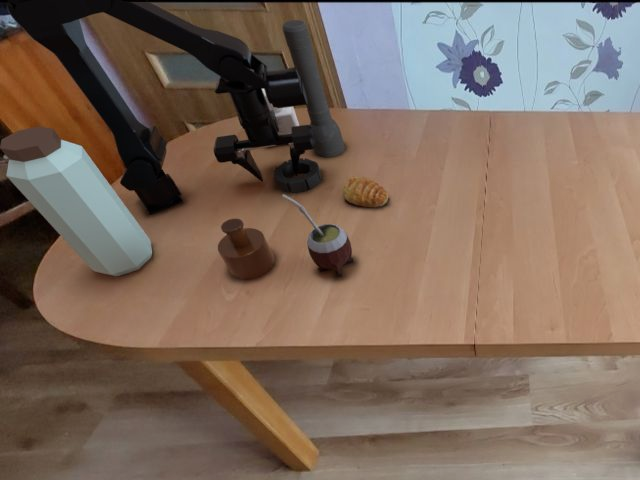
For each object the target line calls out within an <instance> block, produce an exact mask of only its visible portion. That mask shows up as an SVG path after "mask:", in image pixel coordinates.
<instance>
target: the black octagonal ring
mask: <svg viewBox="0 0 640 480" xmlns="http://www.w3.org/2000/svg"><path fill="white" fill-rule="evenodd" d="M318 163H319V162H317V161H314V160H312V159H309V158H303V157H300V158H299V162H298V174H301V173H305V174H304V175H302V176H299V177H298V176H297V177H293V178H290V177H291V176H292V175H295V173H294V169H293V165H292V161H291V159H288V160H287V161H286V160H285V161H284V162H282V163H281V164H279V165H278V166H276V167H274V169H273V180H274V182H275V185H276V188H278V190H281V191H282V192H283V191H284V192H286V193H288V194H290V193H292V194H297V193H301V192H308V190H312V189H313V188H314V187H316V186H317V185H318V184H320V183H321V181H322V173H321V170H320V167H319V164H318Z"/></svg>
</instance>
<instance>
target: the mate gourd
mask: <svg viewBox="0 0 640 480" xmlns="http://www.w3.org/2000/svg"><path fill="white" fill-rule="evenodd" d="M281 197H282V198H283V199H285V200H287V201H288V202H290V203H292V204H293V205H294V206H295V207H297V208H298V211H300V212H301V213H302V215H304V217H306V219H307V220H308V222H309V223H310V224H311V226H312V227H313V229H312V230H311V231H310V232H309V235H308V237H307V239H306V243H307V245H306V246H307V249H308V253H309V256H310V258H311V260H312V261H313V263H314V264H315V265H316V266H317V267H318V268H317V271H318V272H319V273H323V272H326V271H330V270H335V273H336V276H337V278H342V277H343V273H342V270H341V267H343V266H347V265H349V264H353V263H354V258H352V253H353V248H352V244H351V240H350V238H349V235H348V234H347V232H346V231H345V230H344V229H343V228H341V227H340V226H339V225H337V224H334V223H324V224H320V225H317V224H316V222H315V221H314V219H312V217H311V216H310V215H309V213H308V211H307V209H306V208H305V207H304V206H303V205H302V204H300V203H298V202H297V201H296V200H295V199H293V198H292V197H289V196H288V195H286V194H284V193H283V194H282V196H281Z"/></svg>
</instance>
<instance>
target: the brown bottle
mask: <svg viewBox="0 0 640 480" xmlns="http://www.w3.org/2000/svg"><path fill="white" fill-rule="evenodd" d="M244 225H245V224H244V222H243V220H242V219H240V218H231V219H227V220H225V221H224V222H222V224H221V225H220V229H221V232H222V233H224V234H226V235H224V236H223V237H222V238H221V239H220V240H219V242H218V244H217V251H218V253H219V255H220V257H221V258H222V260H223V262H224V263H225V265H226V267H227V268H228V270H229V272H230V273H231V275H232V276H233V277H234V278H236V279H240V280H251V279H252V280H253V279H255V278H259V277H261V276H263V275H265V274H266V273H268V272H269V271H270V270H271V269H272V267H273V266H274V264H275V259H276V258H275V256H274V254H273V251H272V250H271V247H270V245H269V243H268V240H267V239H266V236H265V235H264V233H263V232H262V231H261V230H259V229H258V228H253V227H244Z"/></svg>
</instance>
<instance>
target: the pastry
mask: <svg viewBox="0 0 640 480" xmlns="http://www.w3.org/2000/svg"><path fill="white" fill-rule="evenodd" d="M341 195H342V197H343V198H344V199H345V200H346V201H347V202H349V203H350V204H353V205H356V206H360V207H365V208H366V207H367V208H377V207H382V206H384V205H385V204H386V203H387V202H388V199H389V193H388V191H387V190H386V189H385V188H384V187H383V186H381V185H380V184H379V183H378V182H375V181H374V180H372V179H371V178H366V177H364V176H361V177H357V176H351V177H349V178H348V179H347V180H346V181H345V184H344V185H343V187H342V194H341Z"/></svg>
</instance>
